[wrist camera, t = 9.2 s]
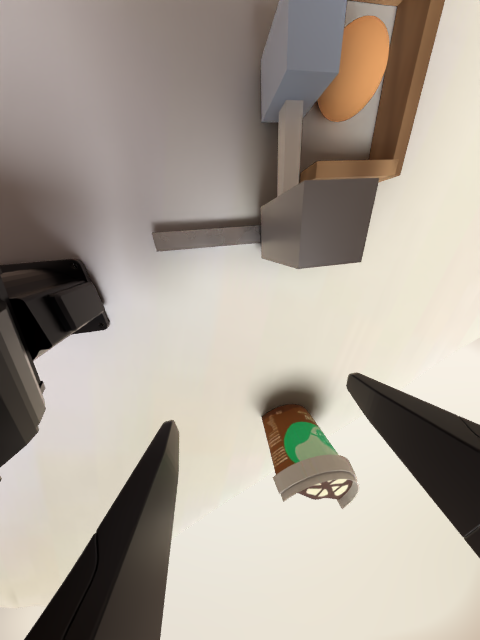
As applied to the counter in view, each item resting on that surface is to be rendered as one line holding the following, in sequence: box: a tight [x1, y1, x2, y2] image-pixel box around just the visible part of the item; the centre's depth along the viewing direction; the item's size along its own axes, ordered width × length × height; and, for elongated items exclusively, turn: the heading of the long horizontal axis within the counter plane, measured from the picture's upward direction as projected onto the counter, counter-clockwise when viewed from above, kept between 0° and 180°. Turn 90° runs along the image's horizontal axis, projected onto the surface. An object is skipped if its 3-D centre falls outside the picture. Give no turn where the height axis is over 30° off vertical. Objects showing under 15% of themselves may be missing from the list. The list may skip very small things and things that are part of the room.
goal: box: [300, 0, 445, 183], centre depth 12 cm, size 8×11×2 cm
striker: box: [261, 0, 379, 269], centre depth 11 cm, size 4×12×8 cm, turn 4°
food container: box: [262, 404, 359, 509], centre depth 24 cm, size 12×6×10 cm, turn 53°
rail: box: [152, 225, 261, 251], centre depth 16 cm, size 15×1×1 cm, turn 94°
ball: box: [318, 16, 389, 122], centre depth 12 cm, size 4×4×4 cm
